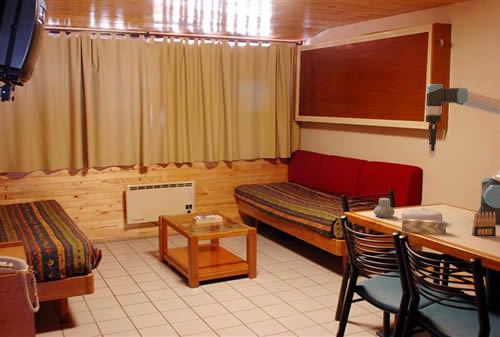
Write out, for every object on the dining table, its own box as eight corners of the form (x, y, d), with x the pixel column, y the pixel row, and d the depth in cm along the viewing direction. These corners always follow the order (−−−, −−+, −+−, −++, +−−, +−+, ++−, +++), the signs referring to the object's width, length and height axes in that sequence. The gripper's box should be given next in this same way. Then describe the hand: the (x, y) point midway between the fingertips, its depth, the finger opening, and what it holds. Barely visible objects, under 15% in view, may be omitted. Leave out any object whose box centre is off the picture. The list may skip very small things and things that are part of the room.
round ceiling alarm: (418, 229, 270) (418, 217, 269) (387, 219, 293) (387, 208, 292) (457, 225, 280) (458, 213, 279) (424, 215, 303) (425, 204, 302)
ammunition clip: (473, 237, 255) (475, 212, 253) (471, 236, 257) (473, 211, 255) (495, 237, 256) (497, 211, 254) (493, 236, 257) (495, 211, 256)
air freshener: (386, 214, 304) (387, 196, 303) (396, 217, 297) (397, 199, 296) (371, 216, 299) (371, 198, 298) (381, 219, 292) (382, 201, 290)
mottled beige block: (445, 233, 262) (445, 221, 261) (445, 235, 258) (446, 222, 258) (401, 230, 267) (402, 218, 267) (401, 232, 264) (402, 220, 263)
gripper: (425, 113, 292) (423, 153, 294) (426, 115, 268) (424, 158, 271) (440, 114, 290) (438, 153, 292) (442, 115, 266) (440, 158, 268)
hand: (431, 156), depth 281 cm, fingers open, 13 cm apart
